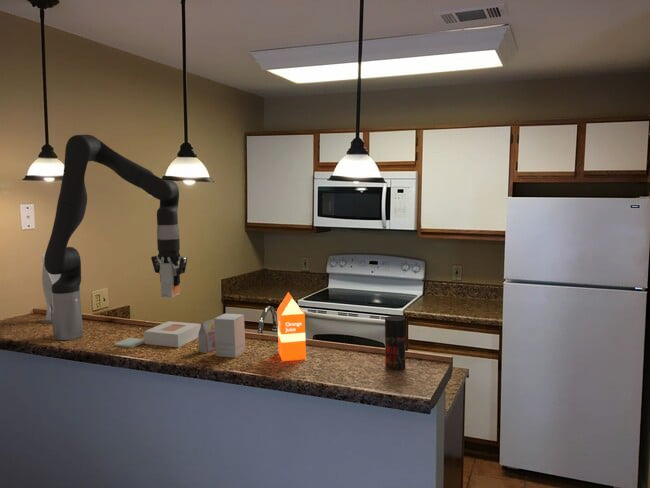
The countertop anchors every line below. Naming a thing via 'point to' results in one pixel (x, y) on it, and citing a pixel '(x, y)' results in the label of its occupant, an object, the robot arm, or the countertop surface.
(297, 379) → the countertop surface
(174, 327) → the button
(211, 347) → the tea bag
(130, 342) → the mat
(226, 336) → the supplement box
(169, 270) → the skincare box
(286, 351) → the orange juice
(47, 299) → the skyscraper
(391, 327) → the deodorant
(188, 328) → the frame
